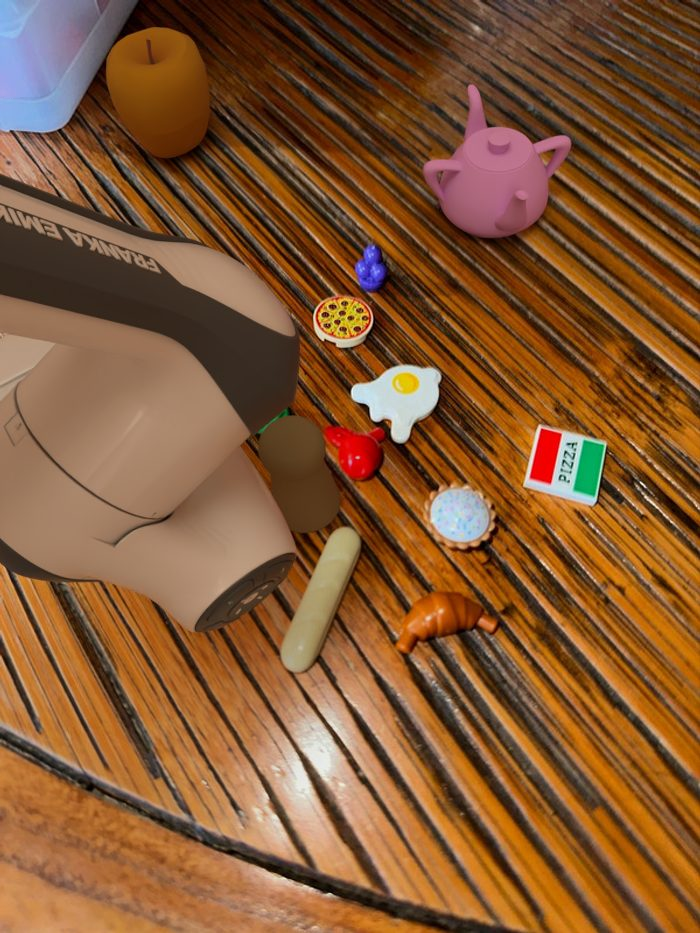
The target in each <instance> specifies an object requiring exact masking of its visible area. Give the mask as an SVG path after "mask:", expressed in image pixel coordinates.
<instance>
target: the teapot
mask: <svg viewBox="0 0 700 933" xmlns="http://www.w3.org/2000/svg"><path fill="white" fill-rule="evenodd" d="M467 97H468V101H469V102H468V103H469V109H468V116H467V122H466V125H465V130H464V137H463V142H462V144H461V145H460V146H459V147H458V148H457V149H455V151H454V153H453V154H452V156H451V157H450V158H449V159H445V158H444V159H442V158H441V159H439V158H437V159H431V160H429V161H427V162H425V163H424V165H423V168H422V174H423V179H424V181H425V182H426V184H427V186H428V187H429V189H430V190H431V192H433V194H434V195H435V196H436V197H437V199H438V202H439V206H440V208H441V210H442V212H443V214H444V216H445V217H446V218H447V219H448V220H449V221H450V222H451V224H453V225H454V226H456V227H457V228H458V229H459V230H461V231H463V232H465V233H467V234H469V235H472V236H474V237H477V238H485V239H499V238H505V237H510V236H513V235H515V234H518V233H520V232H522V231H524V230H526V229H528V228H529V227H530V226H532V225H533V224H535V223H536V222H537V221H538V220H539V219H540V218H541V216H542V215H543V213H544V212H545V210H546V207H547V204H548V200H549V199H548V198H549V180H550V178H552V176H553V175H554V174H555V172H557V170H558V169H559V168H560V166H561V165H562V164H563V162H564V161H565V160H566V158H567V157H568V155H569V153H570V150H571V147H572V141H571V138H570V137H569V136H567V135H564V134H562V135H561V134H559V135H556V136H551V137H548V138H546V139H545V138H544V139H542V140H540V141H537V142H535V143H533V142H531V140H530V139H529V138H528V137H527V136H526V135H525V134H524V133H522V132H521V131H519V130H516V129H513V128H510V127H505V126H491V127H488V125H487V121H486V117H485V112H484V109H483V108H484V107H483V102H482V97H481V94H480V90H479V89H478V88H477V86H475V85H474V84H469V85H468V87H467ZM552 150H554V152H553V154H552V156H551V158H550V159H549V161H548V163H547V164H546V165H545V164H544V162H543V159H542V157H541V155H542V154H544V153H546V152H548V151H552ZM540 154H541V155H540ZM441 172H442V175H441V178H440V181H439V179H438V173H441Z"/></svg>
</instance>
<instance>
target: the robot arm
mask: <svg viewBox="0 0 700 933" xmlns="http://www.w3.org/2000/svg"><path fill="white" fill-rule="evenodd" d="M0 334H2V335H3V337H0V565H2V566H3V567H4V568H6V569H7V570H8V571H10V572H12V573H14V574H16V575H18V576H19V577H23V578H28V579H32V580H37V581H42V582H43V581H44V582H52V583H103V582H104V583H107V584H110V585H114V586H116V587H120V588H122V589H125V590H128V591H131V592H134V593H136V594H139V595H141V596H144V597H145V598H147V599H149V600H151V601H152V602H154V603H155V604H157V606H159V607H160V608H161V609H163V610H164V611H165V612H166V613H167V614H168V615H169V616H170V617H171V618H172V619H173V620H174V621H175V622H176V623H177V624H178V625H179V626H181V627H182V628H183V629H185V630H186V631H188V632H190V633H197V634H202V633H207V632H213V631H214V632H215V631H217V630H219V629H222V628H224V627H226V626H228V625H230V624H233V623H234V622H236V621H238V620H239V619H240V618H241V617H243V616H244V615H247V613H249V612H252V611H253V610H254V609H255V608H256V607H257V606H258V605H260V604H261V603H262V602H263V601H264V600H265V599H266V598H268V596H270V595H271V594H272V593H273V592H274V591H275V590H276V589H277V588H278V587H279V586H280V585H281V584H282V583H283V582H284V581H285V580H286V578H287V577H288V575H289V573H290V571H291V570H292V568H293V566H294V563H295V561H296V559H297V555H298V549H297V545H296V542H295V539H294V537H293V534H292V531H291V530H290V529H289V527H288V525H287V523H286V521H285V518H284V516H283V514H282V512H281V510H280V509H279V507H278V505H277V503H276V501H275V499H274V497H273V496H272V494H271V489H269V487H268V485H267V483H266V482H265V480H264V478H263V477H262V476H261V474H260V472H259V470H258V469H257V468H256V466H255V465H254V463H253V462H252V460H251V459H250V457H249V455H248V454H247V453H246V451H245V450H244V449H243V447H242V444H244V443H245V442H246V440H248V439H249V438H250V437H251V436H252V437H255V436H256V435H257V434H259V432H261V431H263V430H264V429H265V428H266V427H267V426H268V425H269V424H270V423H272V422H273V421H275V420H276V419H277V417H278V416H280V415H281V414H282V413H283V412H284V411H285V410H287V409H288V408H289V407H290V406H292V405H293V404H294V403H295V401H296V397H297V391H298V384H299V376H300V364H301V340H300V339H301V338H300V337H301V336H300V331H299V329H298V327H297V325H296V323H295V322H294V320H293V319H292V318H291V316H290V314H289V313H288V311H287V310H286V308H285V306H284V305H283V303H282V302H281V301H280V299H279V298H278V297H277V295H276V294H275V293H274V291H272V289H271V288H270V287H269V286H268V285H267V284H266V283H265V282H264V281H263V280H262V279H261V278H260V277H259V276H257V274H256V273H254V272H253V271H252V270H251V269H250V268H248V267H247V266H245V265H244V264H242V262H239V261H238V260H236V259H235V258H233V257H231V256H230V255H228V254H226V253H223V252H221V251H219V250H217V249H214V248H213V247H212V246H209V245H207V244H205V243H204V242H201V241H198V240H196V239H192V238H190V237H184V236H178V235H173V234H166V233H161V232H155V231H151V230H147V229H143V228H140V227H137V226H135V225H132V224H130V223H127V222H124V221H121V220H119V219H116V218H113V217H111V216H108V215H107V214H103V213H101V212H99V211H96V210H94V209H92V208H89V207H87V206H84V205H81V204H80V203H79V204H78V203H76V202H73V201H71V200H68V199H66V198H63V197H61V196H58V195H56V194H53V193H50V192H48V191H46V190H43V189H40V188H38V187H36V186H33V185H32V184H31V185H30V184H28V183H25V182H23V181H21V180H18V179H15V178H13V177H11V176H8V175H5V174H3V173H0Z"/></svg>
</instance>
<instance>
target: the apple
mask: <svg viewBox="0 0 700 933" xmlns="http://www.w3.org/2000/svg"><path fill="white" fill-rule="evenodd" d="M105 64H106V67H105V79H106V86H107V89H108V92H109V95H110V98H111V102H112V105H113V107H114V109H115V111H116V112H117V115H118V116H119V118H120V120H121V121H122V123H123V124H124V125H125V127H126V128H127V130H129V132H130V133H131V135H132V136H133V137H134V138H135V139H136V141H137V142H138V143H139V144H140V146H141V147H143V148H144V149H145V150H146V151H148V152H149V153H150V154H151V155H152V156H153V157H155V158H162V159H173V158H177V157H179V156H183V155H185V154H187V153H189V152H190V151H192V150H194V149H195V148H196V147H197V146H199V145H200V144H201V143H202V141H203V140H204V137H205V136H206V134H207V130H208V125H209V120H210V115H211V98H210V97H211V96H210V85H209V78H208V75H207V70H206V69H207V68H206V65H205V63H204V61H203V58H202V55H201V54H200V51H199V49H198V47H197V45H196V43H195V41H194V40H193V39H192V38H191V37H190V36H189V35H187V34H186V33H183V32H180V31H178V30H175V29H171V28H169V27H158V26H153V27H149V28H145V29H142V30H139V31H136V32H133V33H131V34H127V35H126V36H124V37H123V38H121V39H120V40H119V41H117V42H116V43H115V44H114V45H113V46H112V48H111V50H110V51H109V53H108V55H107V57H106V63H105Z"/></svg>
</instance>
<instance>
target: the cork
mask: <svg viewBox="0 0 700 933" xmlns="http://www.w3.org/2000/svg"><path fill="white" fill-rule="evenodd" d="M257 445H258V446H257V447H258V449H257V450H258V451H257V454H258V457H259V459H260V463H261V465H262V467H263V468H264V470H266V472H267V473H268V475H269V478H270V479H269V480H270V492H271V494H272V496H273V497H274V499H275V501H276V503H277V505H278V507H279V509H280V510H281V512H282V514H283V516H284V518H285V521H286V523H287V525H288V527H289V529H290V532H295V533H298V534H308V533H309V534H310V533H315V532H318V531H320V530H323V529H324V528H326V527H327V526H328V525H330V524H331V523H332V522H333V521H334V520H335V518H336V516H337V515H338V513H339V511H340V507H341V493H340V490H339V488H338V486H337V483H336V481H335V478H334V477H333V476H332V473H331V471H330V470H329V467H328V465H327V463H326V460H325V456H326V453H327V446H326V445H327V444H326V439H325V436H324V434H323V432H322V430H321V429H320V427H318V425H317V424H316V423H315V422H314V421H313V420H310V419H308V418H307V417H303V416H299V415H294V414H293V415H283V416H281V417H278V418H275V419H274V420H272V421H271V422H270V423H269V424H268V425H266V426H265V427H264V429H263V430H262V432H261V434H260V437H259V440H258V444H257Z"/></svg>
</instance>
